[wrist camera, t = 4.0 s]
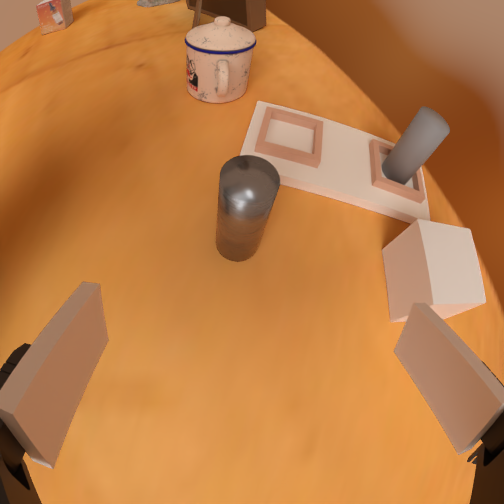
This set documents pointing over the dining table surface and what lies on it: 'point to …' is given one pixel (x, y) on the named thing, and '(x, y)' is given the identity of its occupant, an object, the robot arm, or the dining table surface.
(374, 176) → the pegboard
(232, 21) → the photo frame
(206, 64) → the teacup with lid
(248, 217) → the peg
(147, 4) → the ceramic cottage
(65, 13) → the small box
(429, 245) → the block
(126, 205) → the dining table surface
